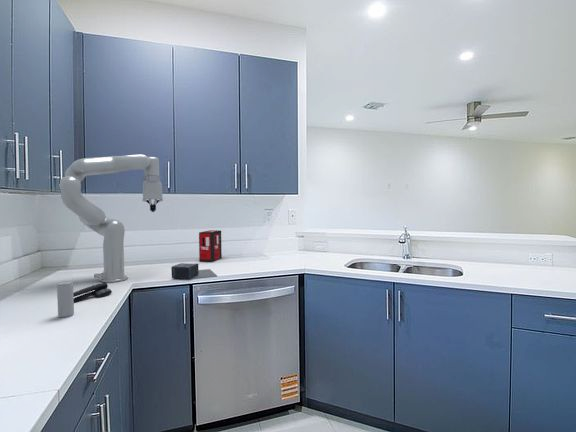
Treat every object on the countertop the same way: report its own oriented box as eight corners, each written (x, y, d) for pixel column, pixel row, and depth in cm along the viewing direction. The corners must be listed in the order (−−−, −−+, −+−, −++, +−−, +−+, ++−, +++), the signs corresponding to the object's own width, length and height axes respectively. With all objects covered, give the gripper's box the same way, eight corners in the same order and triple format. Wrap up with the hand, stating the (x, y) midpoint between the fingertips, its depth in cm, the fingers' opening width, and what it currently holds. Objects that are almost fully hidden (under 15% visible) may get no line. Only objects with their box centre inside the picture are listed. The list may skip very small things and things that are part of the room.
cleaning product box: (211, 262, 226) (211, 232, 225) (199, 262, 228) (198, 232, 227) (221, 258, 242) (221, 230, 241) (210, 258, 244) (209, 230, 243)
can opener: (104, 292, 153) (104, 280, 153) (113, 295, 149) (113, 282, 149) (61, 303, 138) (61, 289, 137) (71, 305, 134) (70, 291, 134)
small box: (171, 278, 178) (189, 279, 175) (170, 266, 177) (189, 266, 175) (181, 274, 188) (199, 274, 186) (181, 262, 188) (198, 263, 185)
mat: (182, 279, 176) (182, 279, 176) (178, 272, 194) (178, 271, 194) (217, 276, 184) (217, 275, 184) (209, 269, 202) (209, 269, 202)
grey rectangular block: (55, 316, 120) (53, 283, 120) (68, 312, 125) (67, 280, 124) (63, 318, 119) (62, 284, 118) (77, 314, 123) (76, 281, 122)
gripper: (137, 178, 184) (138, 212, 185) (166, 179, 190) (167, 211, 191) (137, 179, 191) (138, 211, 191) (165, 179, 197) (166, 211, 198)
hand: (153, 211), depth 191 cm, fingers closed
